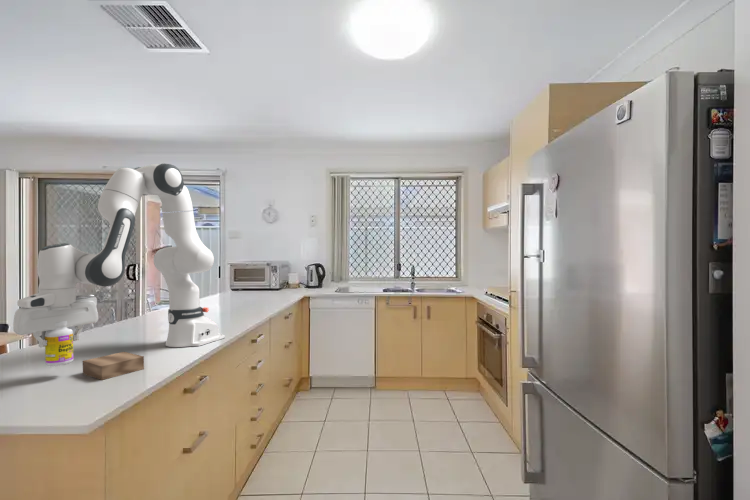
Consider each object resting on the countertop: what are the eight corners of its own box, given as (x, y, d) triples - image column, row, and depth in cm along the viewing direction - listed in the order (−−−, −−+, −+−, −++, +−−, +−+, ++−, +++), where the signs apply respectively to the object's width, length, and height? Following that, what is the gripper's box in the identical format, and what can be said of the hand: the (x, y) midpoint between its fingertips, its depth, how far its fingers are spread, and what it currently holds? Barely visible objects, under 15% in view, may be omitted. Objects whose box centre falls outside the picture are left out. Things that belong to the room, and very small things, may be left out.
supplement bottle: (58, 367, 115) (56, 323, 115) (39, 366, 116) (38, 323, 116) (79, 360, 122) (78, 319, 121) (61, 359, 123) (60, 318, 123)
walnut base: (124, 363, 132) (124, 351, 132) (143, 369, 125) (143, 356, 125) (82, 373, 121) (82, 360, 121) (101, 380, 115) (101, 366, 115)
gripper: (92, 293, 129) (93, 335, 129) (10, 301, 112) (11, 350, 112) (101, 294, 126) (102, 337, 126) (18, 303, 108) (20, 353, 109)
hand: (59, 343), depth 119 cm, fingers closed on supplement bottle, 7 cm apart
